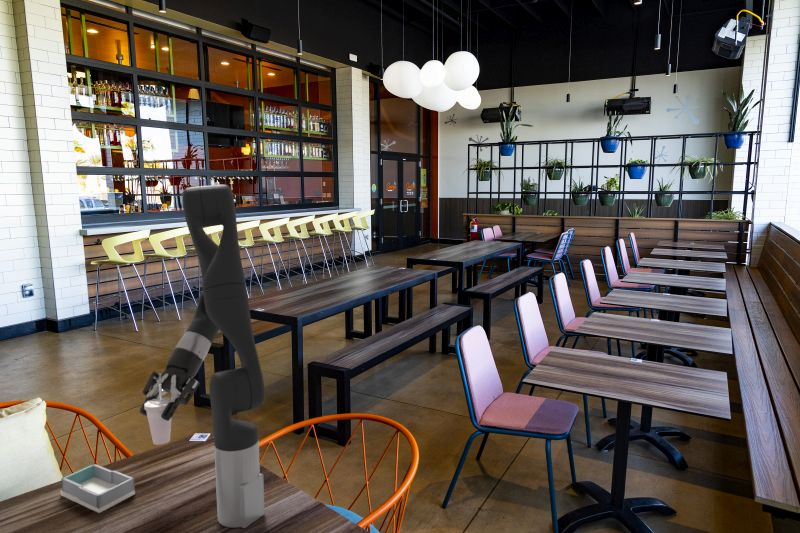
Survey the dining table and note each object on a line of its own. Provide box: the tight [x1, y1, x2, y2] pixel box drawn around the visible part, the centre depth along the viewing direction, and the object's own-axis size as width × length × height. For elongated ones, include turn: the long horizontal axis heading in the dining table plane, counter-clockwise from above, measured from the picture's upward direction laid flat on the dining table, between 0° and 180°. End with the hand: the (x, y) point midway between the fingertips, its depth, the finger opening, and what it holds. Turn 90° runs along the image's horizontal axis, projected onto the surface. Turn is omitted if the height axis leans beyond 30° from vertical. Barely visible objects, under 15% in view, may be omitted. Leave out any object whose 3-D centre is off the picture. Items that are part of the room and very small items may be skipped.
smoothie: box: [144, 384, 173, 446], centre depth 127 cm, size 6×6×14 cm
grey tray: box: [60, 463, 136, 514], centre depth 126 cm, size 15×9×4 cm, turn 61°
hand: (153, 416), depth 125 cm, fingers closed on smoothie, 6 cm apart
